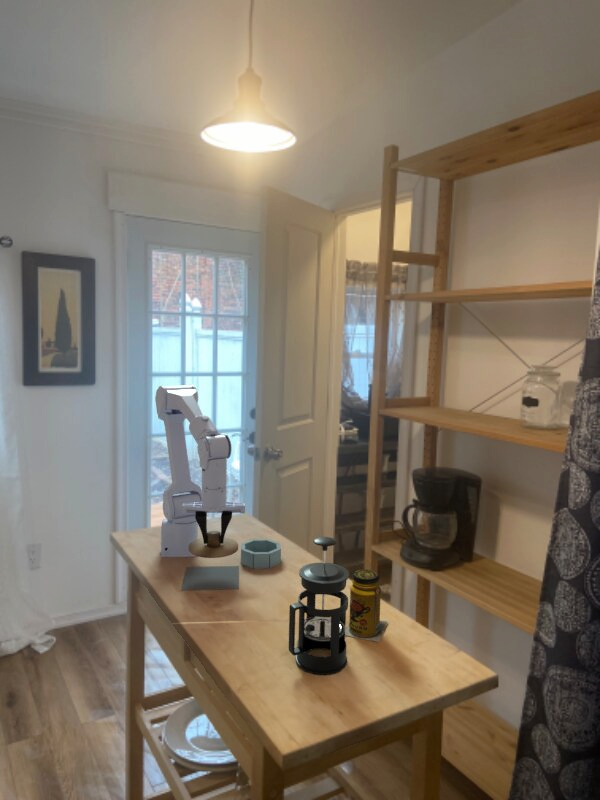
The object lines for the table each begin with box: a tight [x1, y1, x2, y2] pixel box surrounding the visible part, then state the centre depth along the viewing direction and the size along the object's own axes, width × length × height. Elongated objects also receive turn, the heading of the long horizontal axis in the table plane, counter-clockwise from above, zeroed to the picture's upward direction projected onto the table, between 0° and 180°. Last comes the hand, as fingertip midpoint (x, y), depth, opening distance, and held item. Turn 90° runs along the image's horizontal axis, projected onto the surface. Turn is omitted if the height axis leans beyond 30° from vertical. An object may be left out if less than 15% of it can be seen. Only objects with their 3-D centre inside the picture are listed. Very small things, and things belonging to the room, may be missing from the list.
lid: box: [189, 530, 239, 559], centre depth 141 cm, size 12×12×4 cm
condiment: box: [345, 569, 389, 643], centre depth 120 cm, size 7×8×12 cm
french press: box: [288, 536, 350, 676], centre depth 107 cm, size 12×9×23 cm
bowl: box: [240, 538, 282, 569], centre depth 153 cm, size 10×10×4 cm
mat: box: [180, 565, 240, 592], centre depth 142 cm, size 13×13×1 cm
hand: (213, 542), depth 141 cm, fingers closed on lid, 3 cm apart
